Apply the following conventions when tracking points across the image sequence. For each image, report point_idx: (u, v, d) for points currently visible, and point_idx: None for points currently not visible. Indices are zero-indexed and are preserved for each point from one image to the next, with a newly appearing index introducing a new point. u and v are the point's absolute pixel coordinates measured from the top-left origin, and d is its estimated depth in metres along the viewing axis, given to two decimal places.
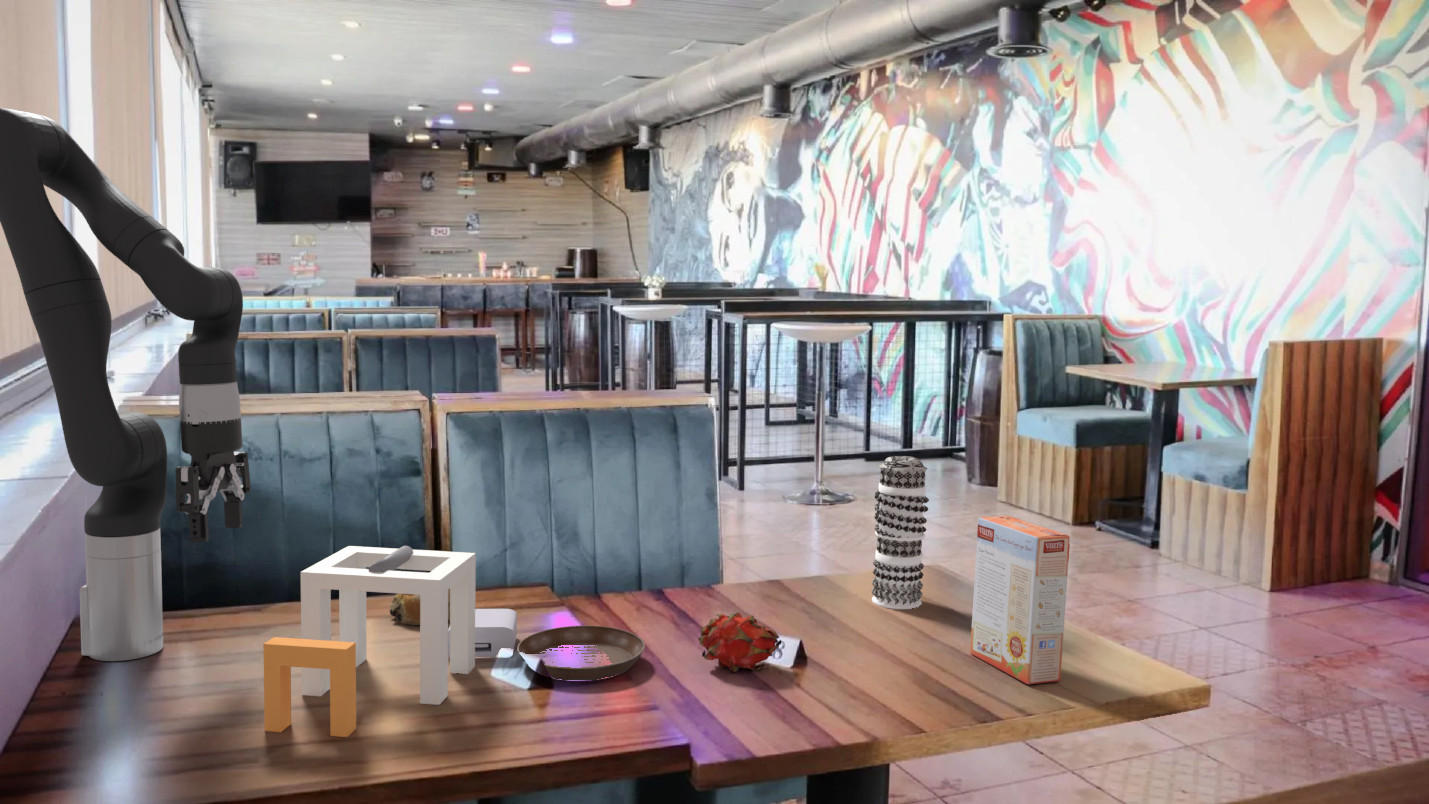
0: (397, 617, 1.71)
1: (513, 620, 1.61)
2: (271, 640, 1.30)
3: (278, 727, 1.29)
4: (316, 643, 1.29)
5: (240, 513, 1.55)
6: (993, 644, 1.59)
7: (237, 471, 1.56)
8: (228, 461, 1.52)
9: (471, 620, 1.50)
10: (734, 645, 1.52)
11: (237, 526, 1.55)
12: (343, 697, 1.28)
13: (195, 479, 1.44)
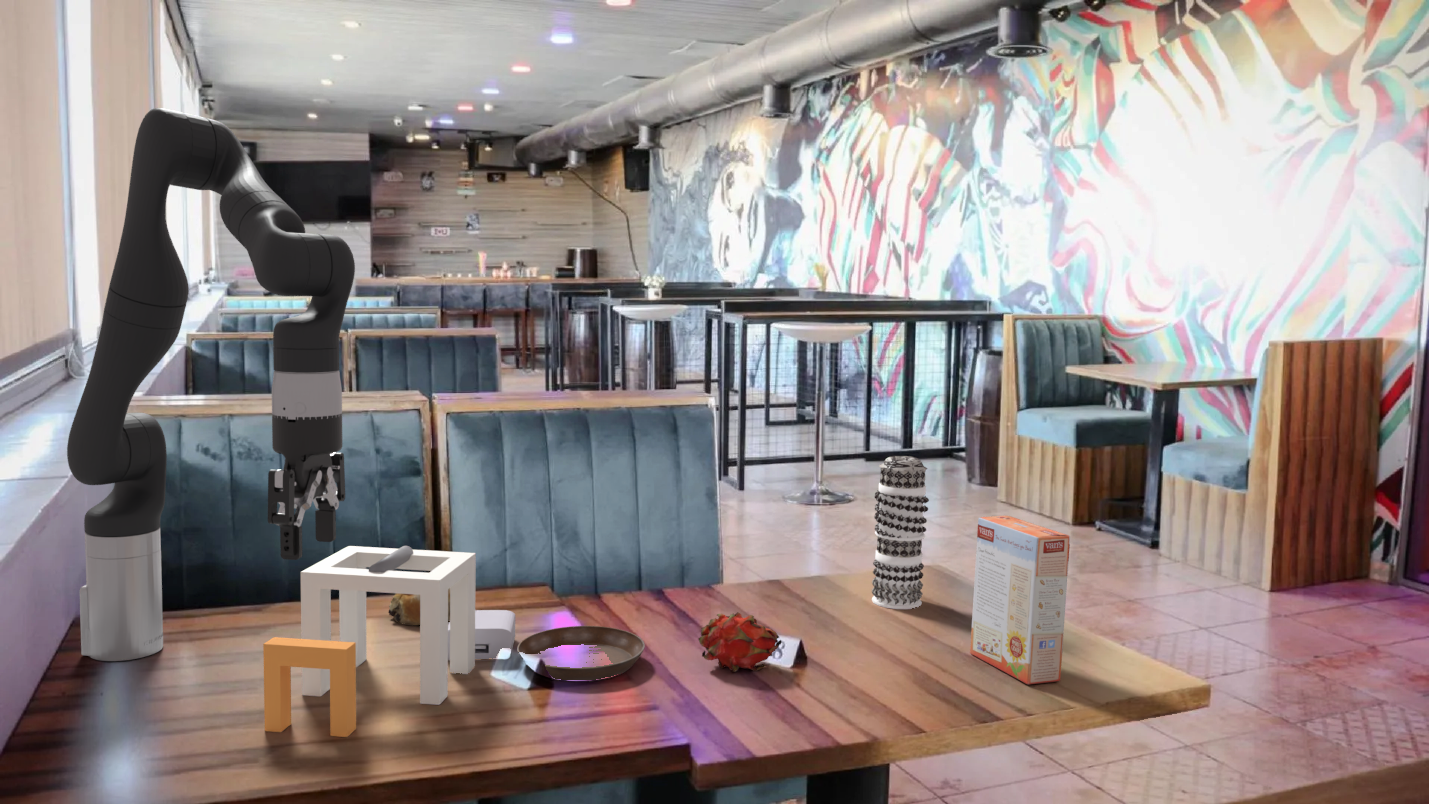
0: (396, 617, 1.71)
1: (511, 621, 1.60)
2: (271, 640, 1.30)
3: (278, 727, 1.29)
4: (316, 643, 1.29)
5: (334, 525, 1.32)
6: (993, 644, 1.59)
7: (331, 475, 1.33)
8: (324, 464, 1.29)
9: (471, 620, 1.50)
10: (734, 645, 1.52)
11: (330, 540, 1.32)
12: (343, 697, 1.28)
13: (291, 485, 1.21)
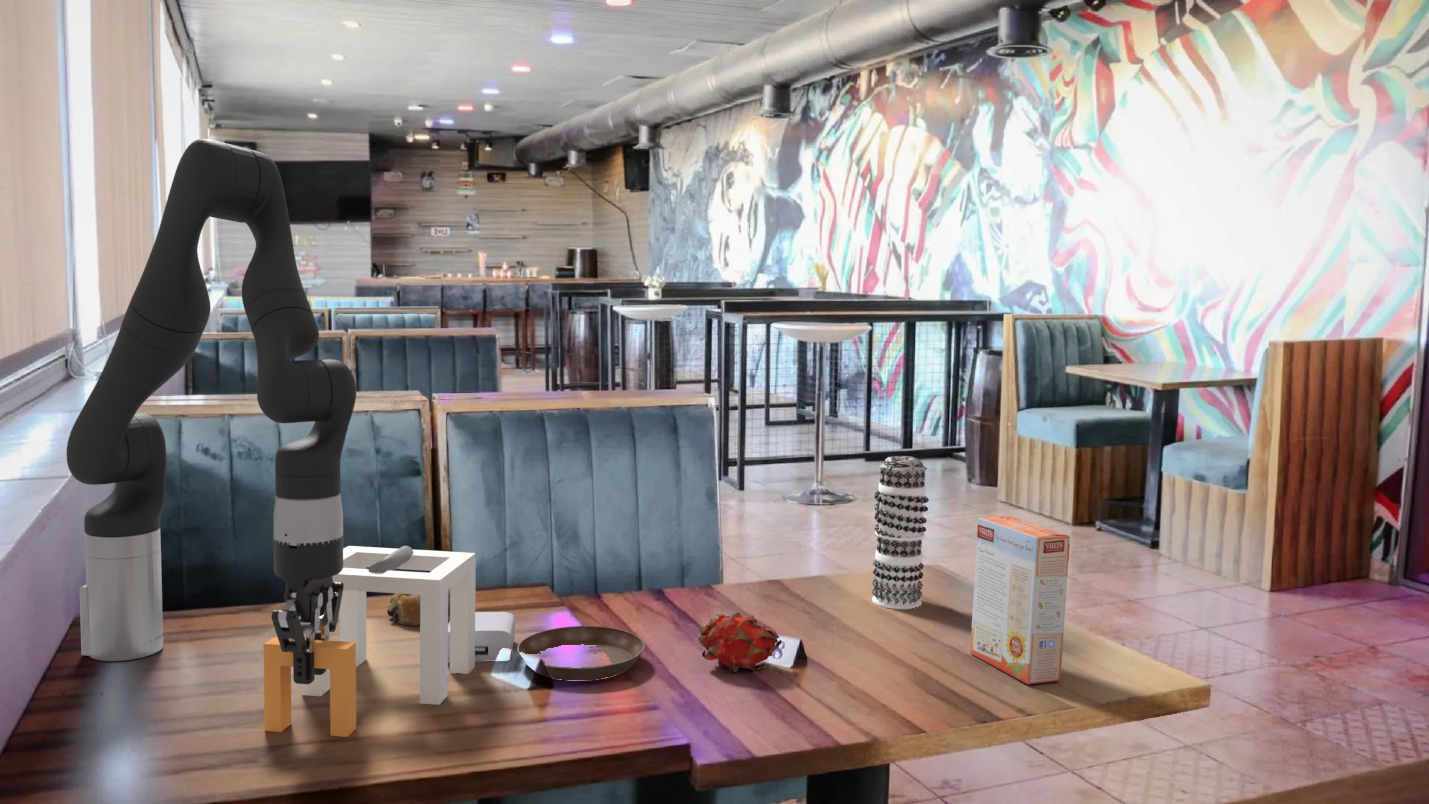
0: (394, 617, 1.71)
1: (510, 623, 1.59)
2: (271, 640, 1.30)
3: (278, 727, 1.29)
4: (316, 642, 1.29)
5: None
6: (993, 644, 1.59)
7: None
8: (325, 583, 1.30)
9: (471, 620, 1.50)
10: (734, 645, 1.52)
11: (320, 673, 1.31)
12: (343, 697, 1.28)
13: (296, 624, 1.23)
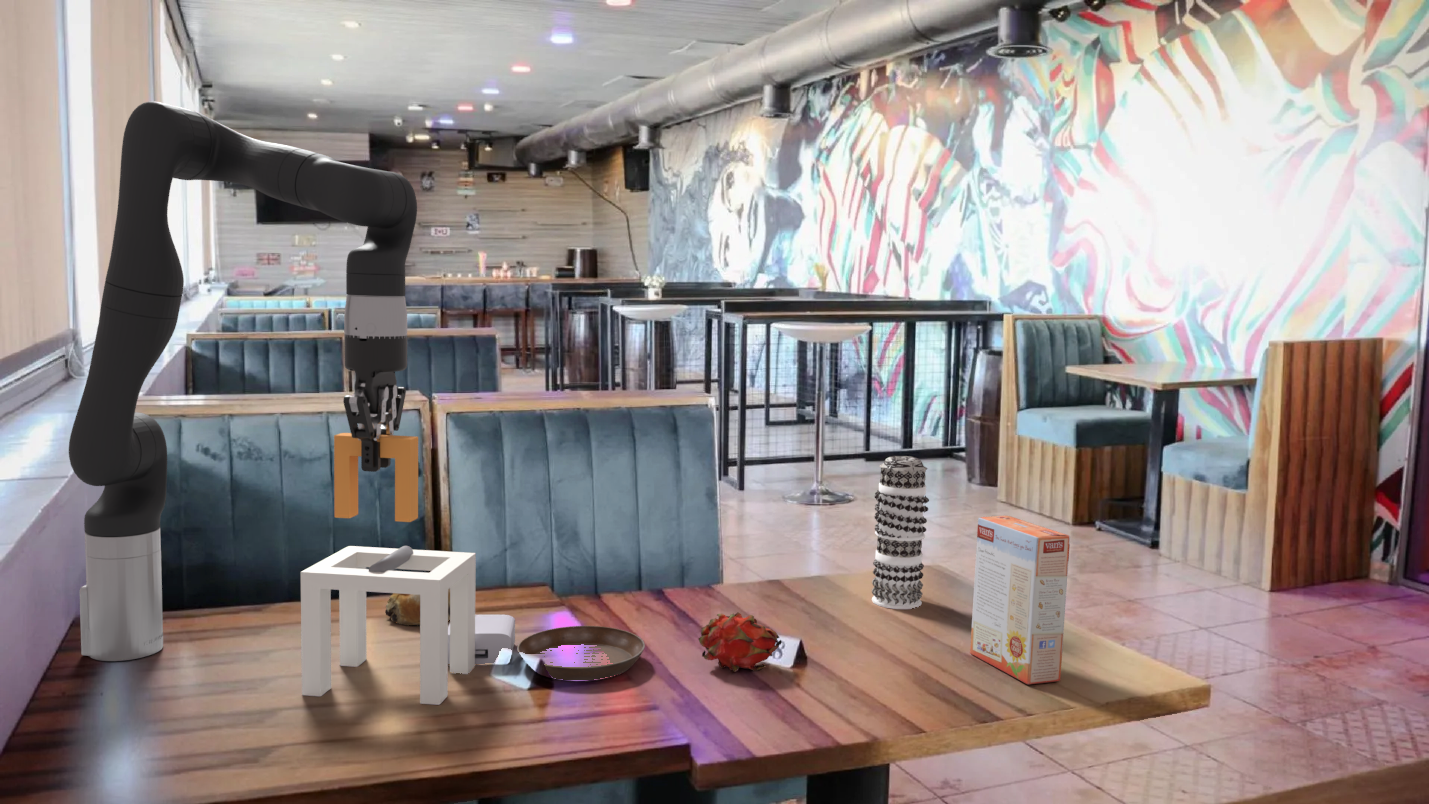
0: (392, 617, 1.71)
1: (511, 626, 1.58)
2: (341, 434, 1.41)
3: (347, 513, 1.40)
4: (382, 436, 1.40)
5: None
6: (993, 644, 1.59)
7: None
8: (390, 382, 1.41)
9: (471, 620, 1.50)
10: (734, 645, 1.52)
11: (385, 465, 1.41)
12: (406, 485, 1.39)
13: (366, 409, 1.34)
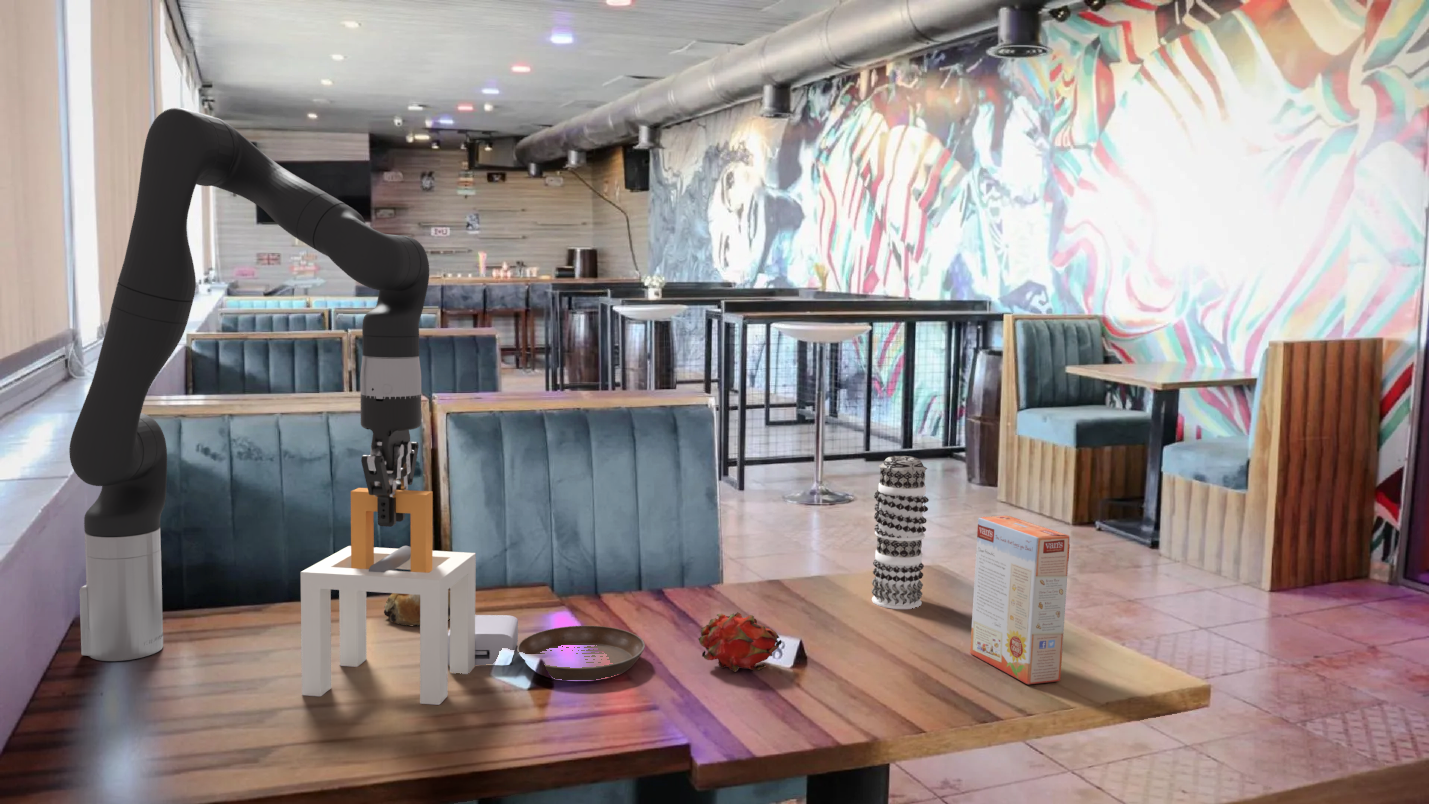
0: (391, 617, 1.71)
1: (513, 627, 1.58)
2: (357, 489, 1.45)
3: (364, 567, 1.44)
4: (398, 491, 1.44)
5: None
6: (993, 644, 1.59)
7: None
8: (405, 439, 1.45)
9: (471, 620, 1.50)
10: (734, 645, 1.52)
11: (400, 519, 1.46)
12: (422, 539, 1.43)
13: (383, 467, 1.38)
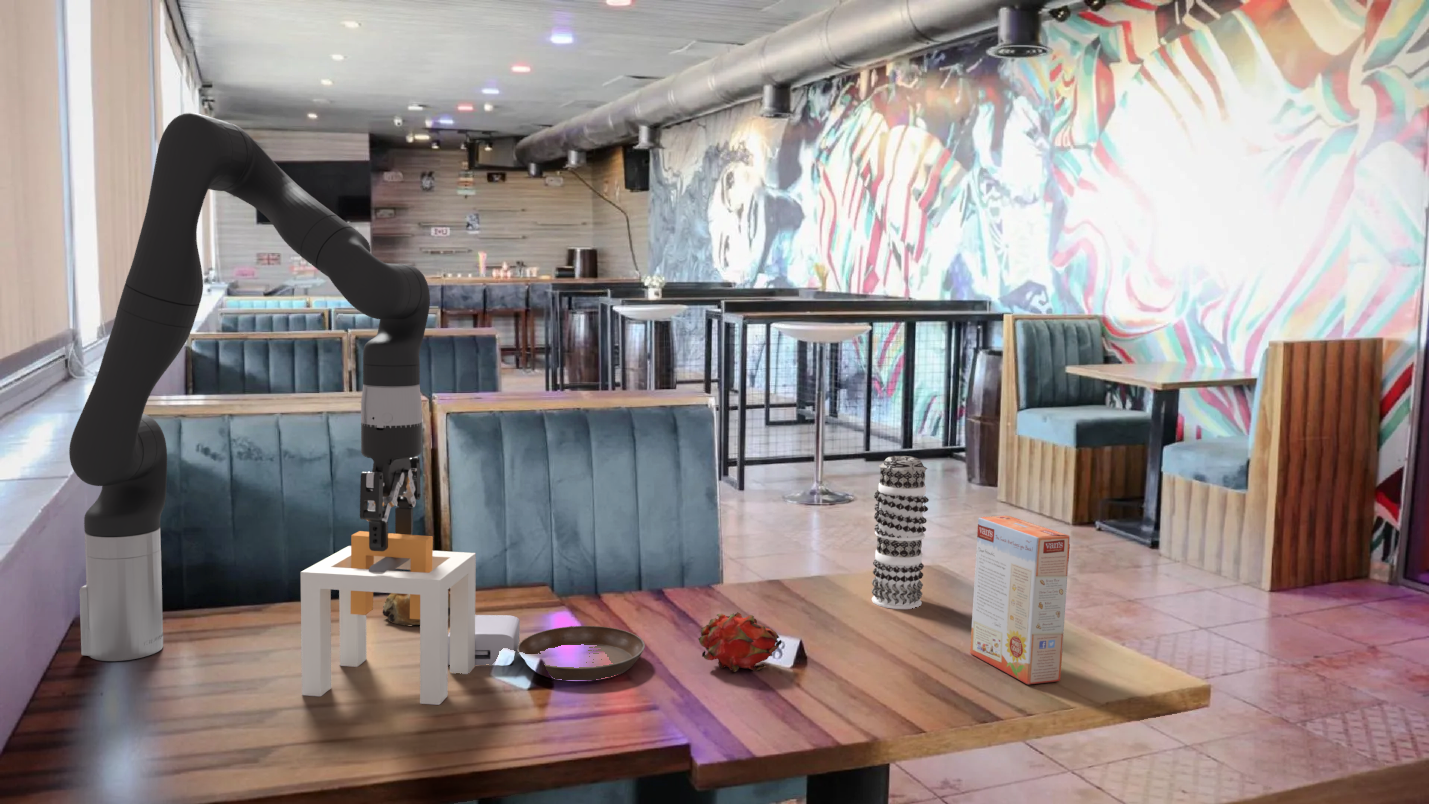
0: (390, 617, 1.71)
1: (514, 627, 1.58)
2: (357, 533, 1.45)
3: (363, 610, 1.45)
4: (398, 535, 1.45)
5: (411, 520, 1.49)
6: (993, 644, 1.59)
7: None
8: (405, 466, 1.46)
9: (471, 620, 1.50)
10: (734, 645, 1.52)
11: (408, 534, 1.49)
12: None
13: (380, 485, 1.37)
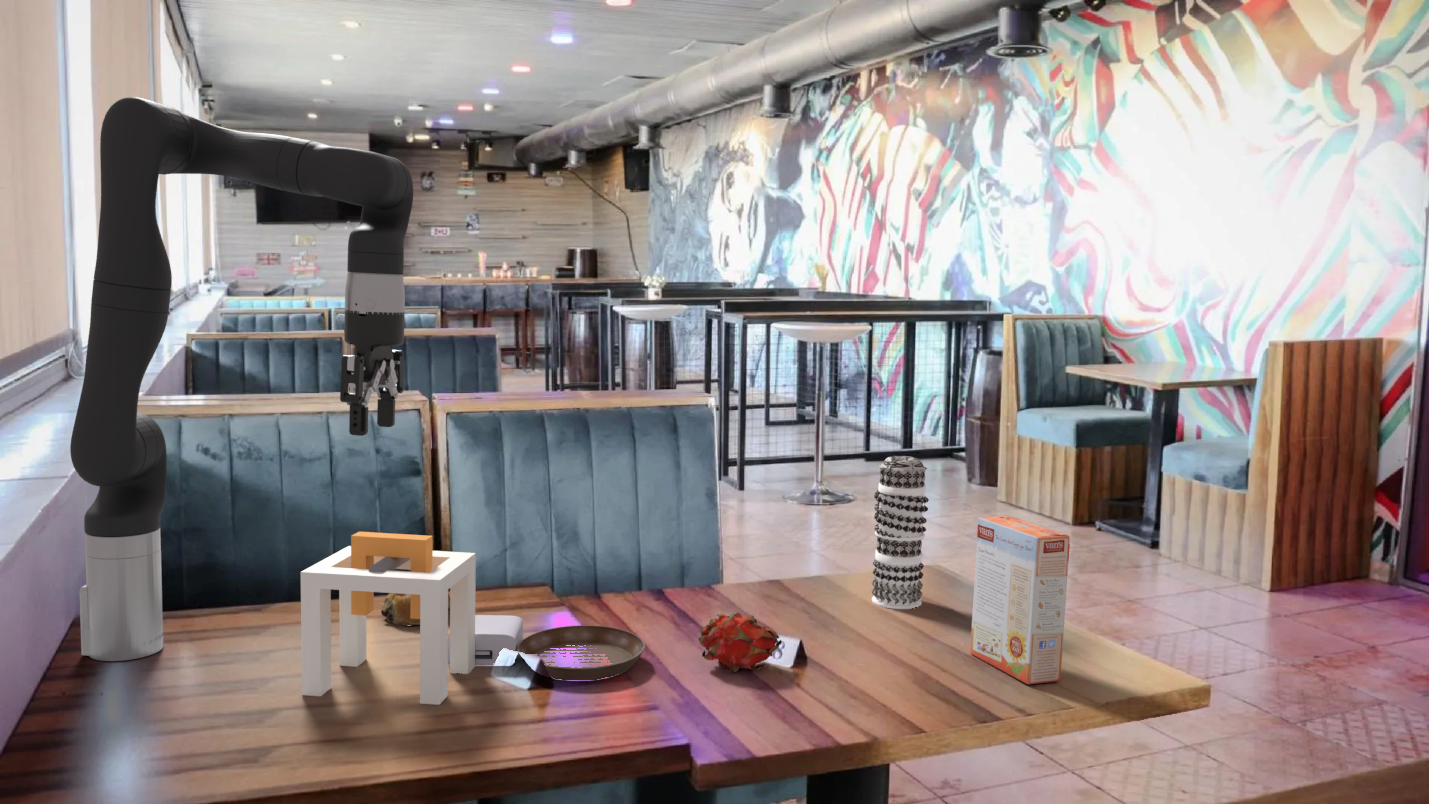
0: (388, 617, 1.71)
1: (517, 627, 1.57)
2: (357, 533, 1.45)
3: (364, 611, 1.45)
4: (398, 535, 1.45)
5: (393, 412, 1.51)
6: (993, 644, 1.59)
7: None
8: (387, 357, 1.48)
9: (471, 620, 1.50)
10: (734, 645, 1.52)
11: (389, 425, 1.51)
12: None
13: (361, 369, 1.40)
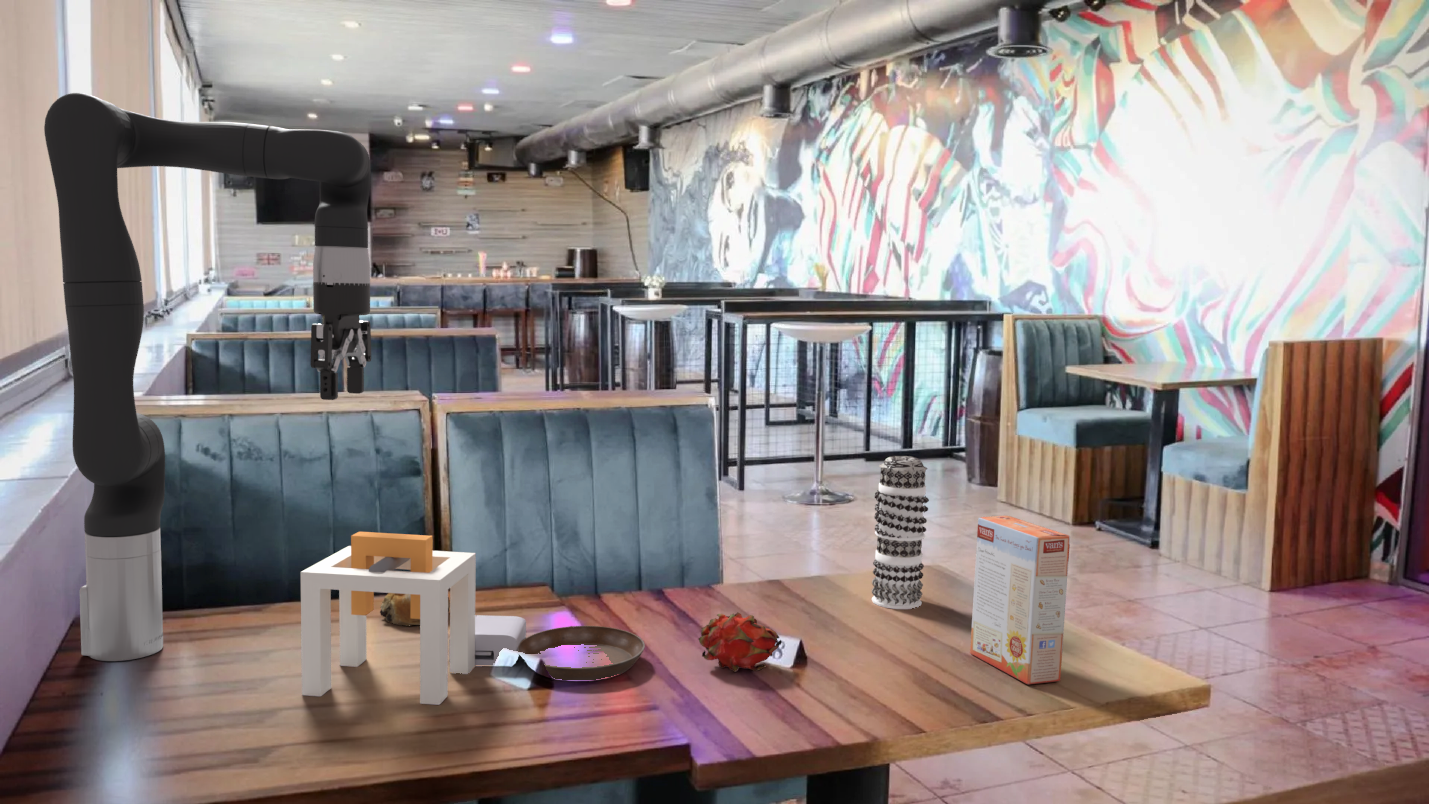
0: (387, 618, 1.71)
1: (519, 628, 1.57)
2: (357, 533, 1.45)
3: (364, 611, 1.45)
4: (398, 535, 1.45)
5: (362, 379, 1.60)
6: (993, 644, 1.59)
7: None
8: (355, 326, 1.57)
9: (471, 620, 1.50)
10: (734, 645, 1.52)
11: (359, 392, 1.60)
12: None
13: (329, 336, 1.49)
